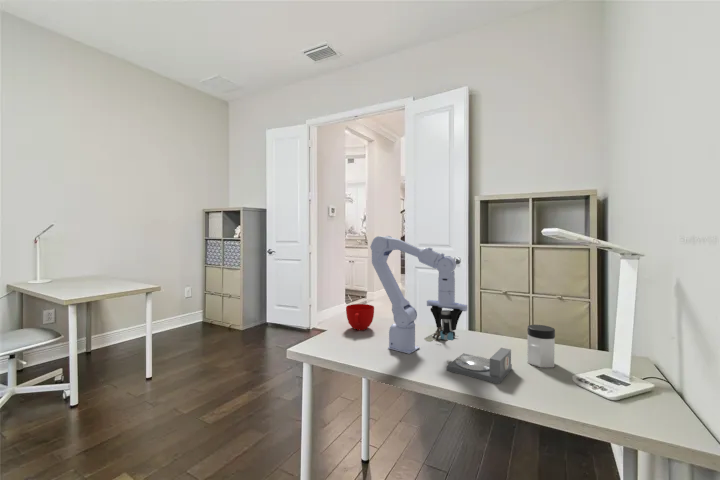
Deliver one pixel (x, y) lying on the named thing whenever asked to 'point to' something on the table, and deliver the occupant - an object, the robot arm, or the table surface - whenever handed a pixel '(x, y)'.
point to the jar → (541, 346)
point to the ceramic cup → (360, 315)
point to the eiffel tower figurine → (437, 334)
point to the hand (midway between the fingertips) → (446, 328)
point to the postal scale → (483, 366)
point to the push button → (447, 325)
